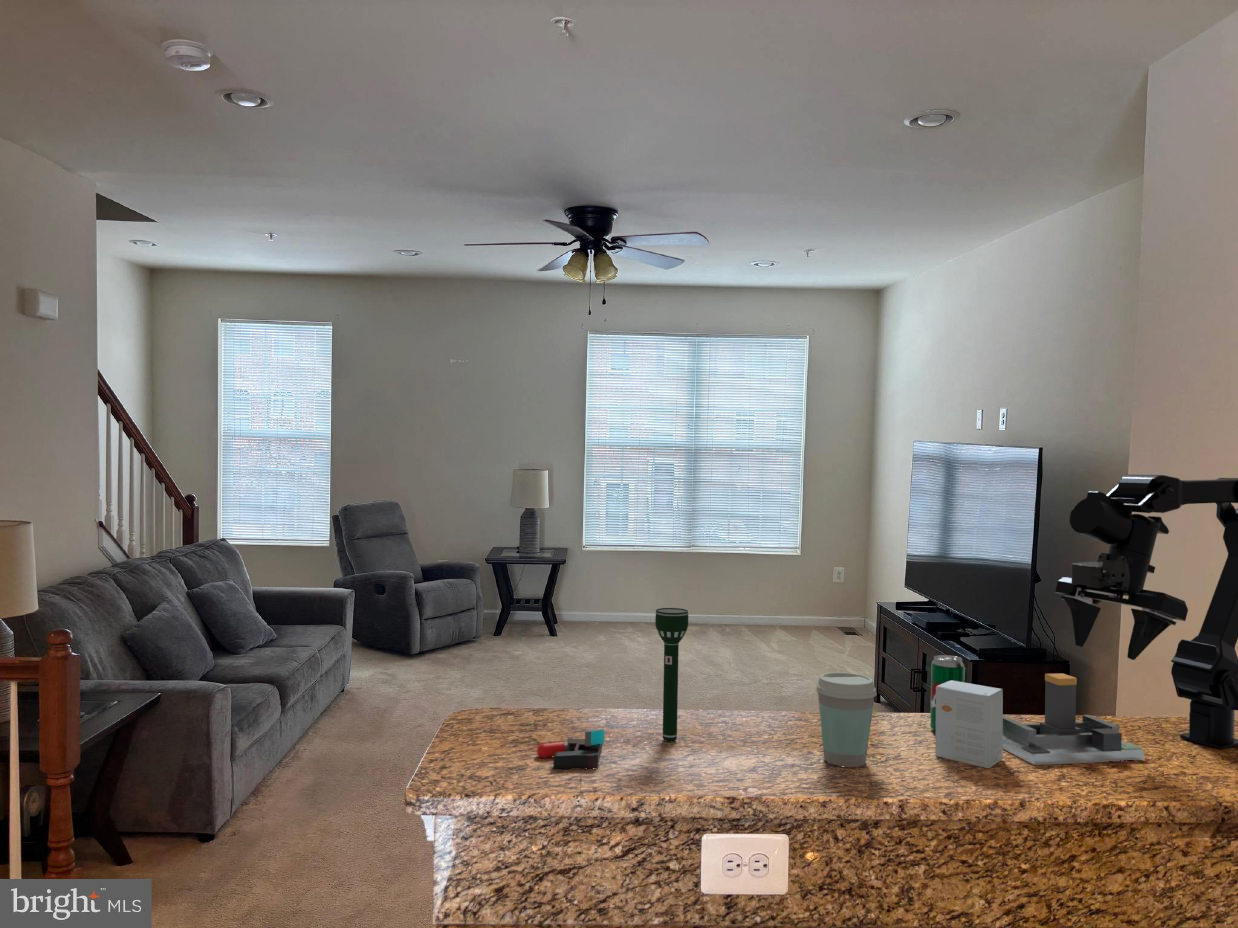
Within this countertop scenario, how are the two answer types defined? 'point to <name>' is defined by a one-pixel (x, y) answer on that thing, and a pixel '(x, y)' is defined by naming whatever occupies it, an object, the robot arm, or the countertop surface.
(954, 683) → the small box
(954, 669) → the soda can
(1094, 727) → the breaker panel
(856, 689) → the coffee cup
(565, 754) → the toy gun
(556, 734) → the countertop surface
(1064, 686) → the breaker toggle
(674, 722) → the flashlight
